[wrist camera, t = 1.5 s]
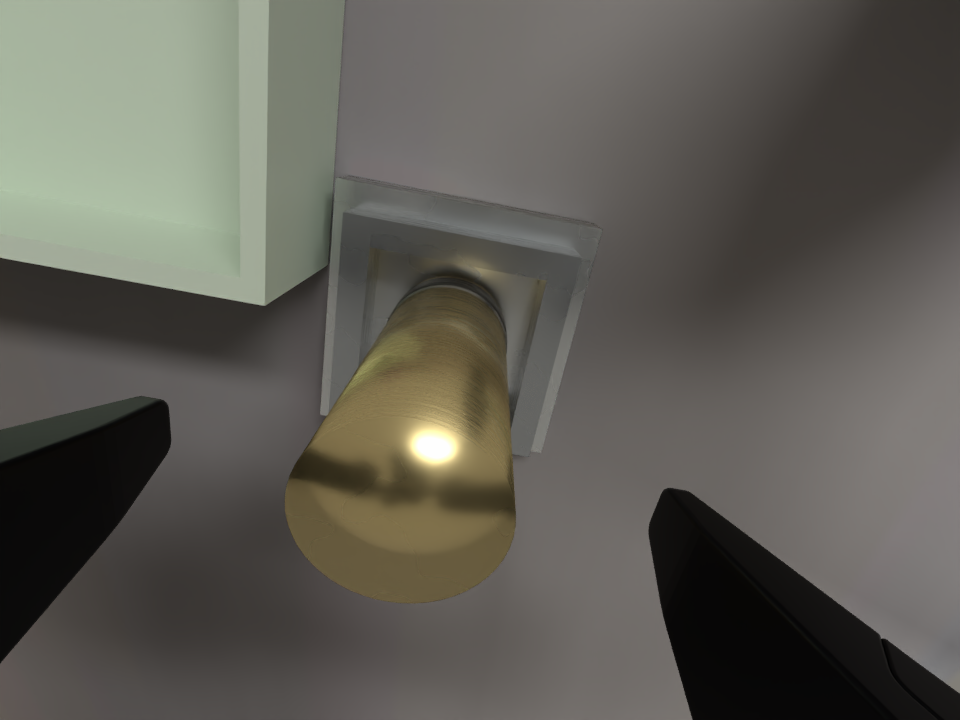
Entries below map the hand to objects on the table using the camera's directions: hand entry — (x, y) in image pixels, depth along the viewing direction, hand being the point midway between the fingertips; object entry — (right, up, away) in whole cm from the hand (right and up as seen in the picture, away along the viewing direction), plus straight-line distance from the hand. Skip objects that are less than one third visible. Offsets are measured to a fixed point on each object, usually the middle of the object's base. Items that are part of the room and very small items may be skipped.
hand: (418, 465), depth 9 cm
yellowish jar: (0, +3, +7) cm, 8 cm away
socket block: (0, +3, +9) cm, 9 cm away
